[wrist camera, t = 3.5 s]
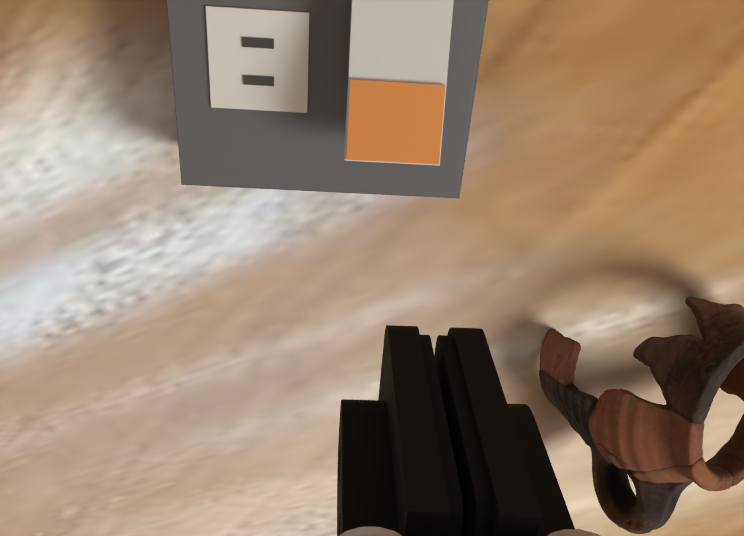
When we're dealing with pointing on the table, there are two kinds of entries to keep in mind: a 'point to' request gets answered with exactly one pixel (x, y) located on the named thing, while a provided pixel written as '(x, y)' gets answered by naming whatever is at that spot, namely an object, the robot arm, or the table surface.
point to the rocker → (397, 80)
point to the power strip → (298, 98)
